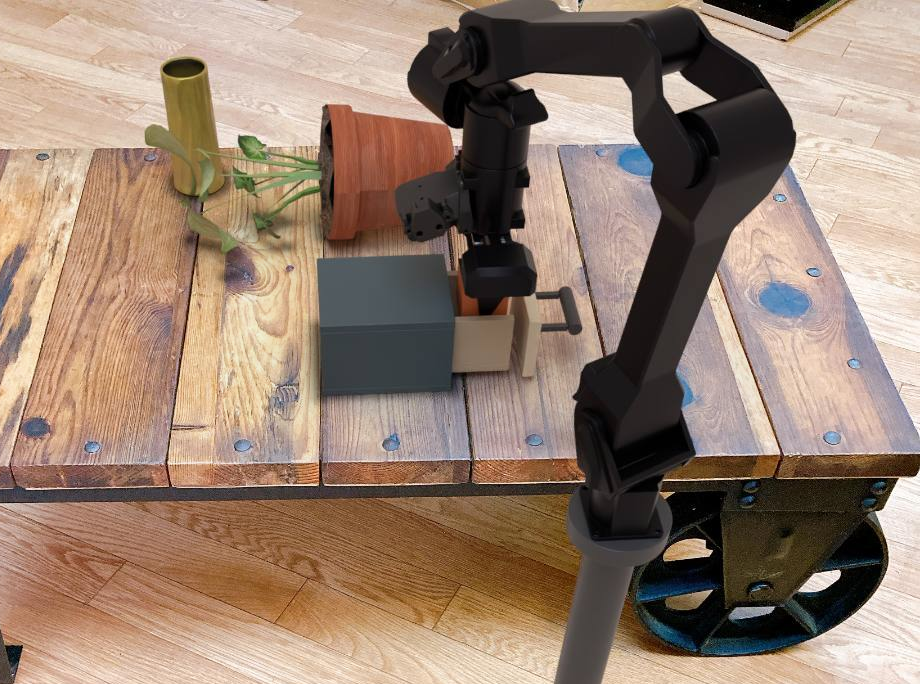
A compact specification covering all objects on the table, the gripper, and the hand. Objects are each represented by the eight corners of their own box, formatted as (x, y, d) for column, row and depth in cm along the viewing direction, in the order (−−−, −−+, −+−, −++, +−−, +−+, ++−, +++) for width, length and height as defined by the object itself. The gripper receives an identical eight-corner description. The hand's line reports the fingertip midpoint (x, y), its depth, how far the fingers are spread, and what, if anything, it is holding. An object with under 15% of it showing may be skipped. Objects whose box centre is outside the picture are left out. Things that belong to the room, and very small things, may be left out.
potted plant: (424, 196, 134) (129, 196, 129) (441, 78, 122) (117, 73, 117) (445, 280, 125) (128, 284, 119) (466, 161, 113) (115, 159, 107)
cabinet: (440, 322, 116) (444, 253, 109) (450, 390, 109) (455, 321, 102) (320, 327, 115) (316, 258, 109) (323, 396, 108) (319, 326, 102)
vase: (165, 178, 134) (146, 62, 123) (211, 163, 136) (196, 49, 125) (187, 202, 130) (170, 86, 119) (233, 187, 132) (221, 71, 121)
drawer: (563, 314, 115) (572, 260, 110) (579, 374, 109) (589, 319, 104) (410, 320, 115) (412, 265, 109) (418, 381, 109) (420, 326, 103)
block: (506, 321, 107) (510, 284, 103) (460, 323, 106) (463, 285, 103) (500, 293, 110) (503, 256, 106) (456, 295, 109) (458, 257, 106)
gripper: (393, 101, 101) (392, 246, 113) (410, 217, 89) (406, 366, 101) (514, 97, 102) (500, 242, 113) (547, 212, 89) (527, 361, 101)
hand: (481, 300), depth 107 cm, fingers closed on block, 4 cm apart
